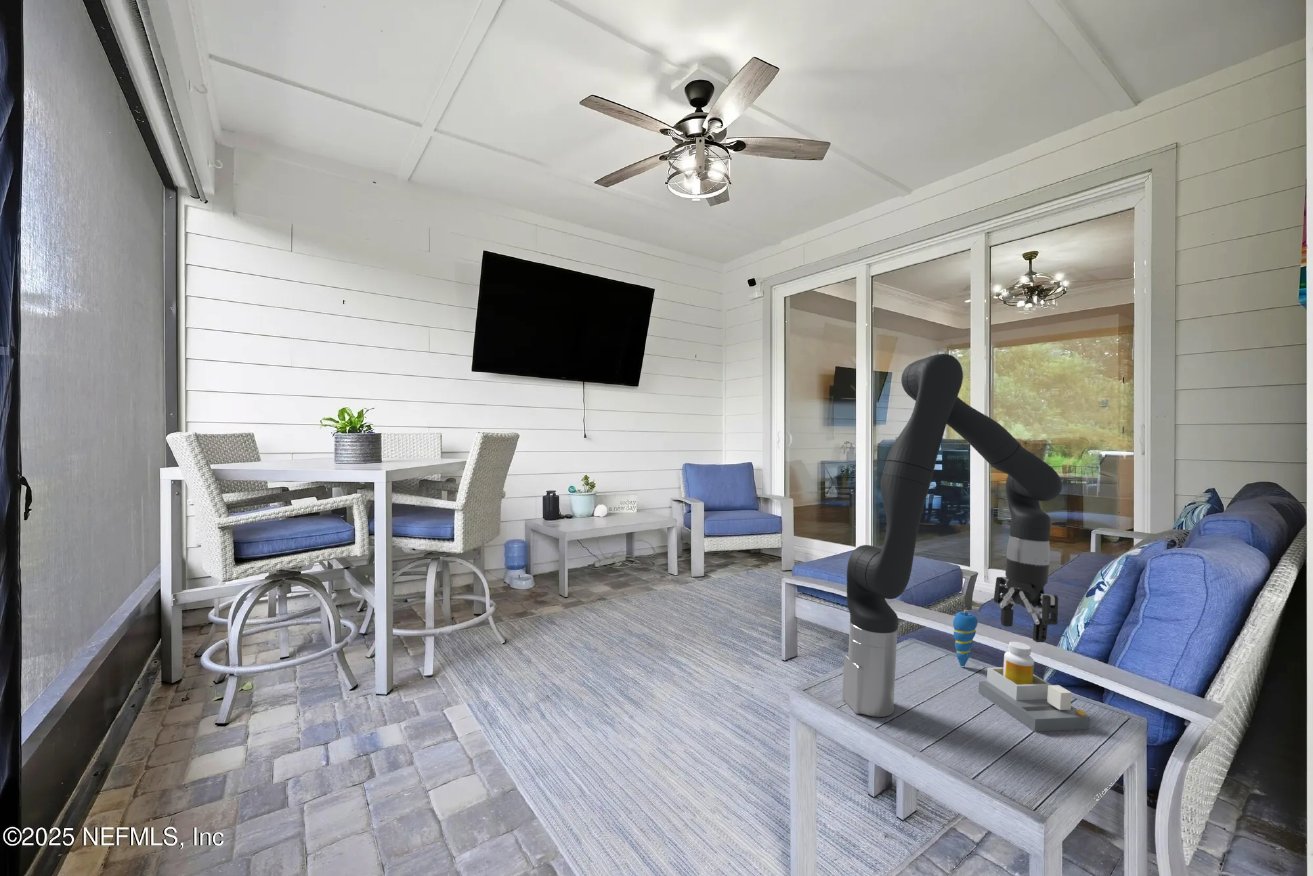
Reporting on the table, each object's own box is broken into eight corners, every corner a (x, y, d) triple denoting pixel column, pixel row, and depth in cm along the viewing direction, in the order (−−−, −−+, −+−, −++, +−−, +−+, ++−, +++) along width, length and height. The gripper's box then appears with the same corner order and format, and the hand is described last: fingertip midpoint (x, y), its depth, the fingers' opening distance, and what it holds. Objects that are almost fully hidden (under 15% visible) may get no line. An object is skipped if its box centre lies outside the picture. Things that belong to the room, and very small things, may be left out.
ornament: (968, 663, 133) (972, 604, 133) (979, 673, 128) (982, 611, 128) (947, 661, 134) (950, 603, 133) (956, 671, 129) (959, 610, 128)
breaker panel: (1034, 731, 104) (1036, 704, 104) (978, 692, 119) (979, 668, 119) (1088, 728, 106) (1090, 701, 106) (1026, 690, 121) (1028, 666, 120)
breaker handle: (1059, 710, 107) (1061, 693, 107) (1047, 702, 110) (1048, 685, 110) (1070, 709, 107) (1071, 692, 107) (1057, 701, 110) (1058, 685, 110)
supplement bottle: (1036, 697, 113) (1040, 652, 112) (1008, 693, 114) (1011, 649, 113) (1025, 684, 118) (1028, 641, 117) (998, 681, 119) (1000, 638, 119)
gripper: (1073, 568, 108) (1066, 647, 108) (1016, 551, 122) (1011, 621, 122) (1039, 567, 107) (1033, 647, 107) (987, 550, 121) (981, 620, 121)
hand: (1022, 633), depth 115 cm, fingers open, 8 cm apart
